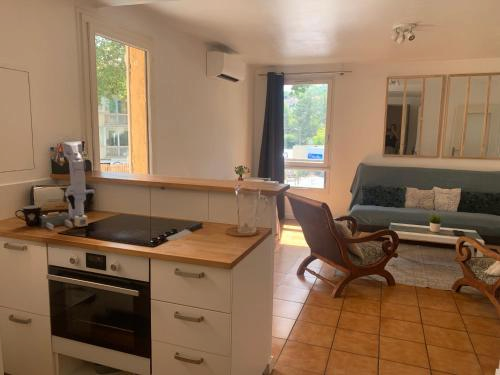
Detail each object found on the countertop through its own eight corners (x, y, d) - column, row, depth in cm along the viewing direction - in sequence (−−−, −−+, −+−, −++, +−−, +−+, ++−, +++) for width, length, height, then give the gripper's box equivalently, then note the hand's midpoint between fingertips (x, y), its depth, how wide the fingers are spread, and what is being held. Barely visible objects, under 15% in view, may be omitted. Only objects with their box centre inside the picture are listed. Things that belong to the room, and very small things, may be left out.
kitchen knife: (173, 240, 175) (164, 236, 177) (172, 245, 176) (163, 241, 178) (206, 224, 201) (199, 221, 203) (205, 229, 202) (198, 225, 204)
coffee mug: (46, 223, 208) (44, 205, 206) (35, 227, 199) (34, 208, 198) (26, 222, 209) (24, 205, 208) (15, 226, 201) (13, 208, 199)
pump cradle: (45, 227, 200) (44, 222, 200) (67, 223, 207) (67, 219, 207) (50, 230, 193) (49, 225, 193) (73, 226, 201) (73, 222, 201)
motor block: (39, 225, 203) (38, 214, 202) (66, 221, 213) (66, 210, 212) (42, 227, 199) (41, 216, 198) (70, 223, 208) (69, 212, 207)
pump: (74, 225, 205) (74, 214, 204) (84, 223, 208) (83, 213, 207) (78, 227, 201) (77, 216, 200) (88, 225, 204) (87, 214, 203)
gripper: (67, 185, 193) (69, 211, 195) (96, 182, 203) (97, 207, 205) (62, 183, 198) (64, 209, 200) (91, 181, 208) (92, 205, 210)
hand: (81, 208), depth 203 cm, fingers open, 7 cm apart
